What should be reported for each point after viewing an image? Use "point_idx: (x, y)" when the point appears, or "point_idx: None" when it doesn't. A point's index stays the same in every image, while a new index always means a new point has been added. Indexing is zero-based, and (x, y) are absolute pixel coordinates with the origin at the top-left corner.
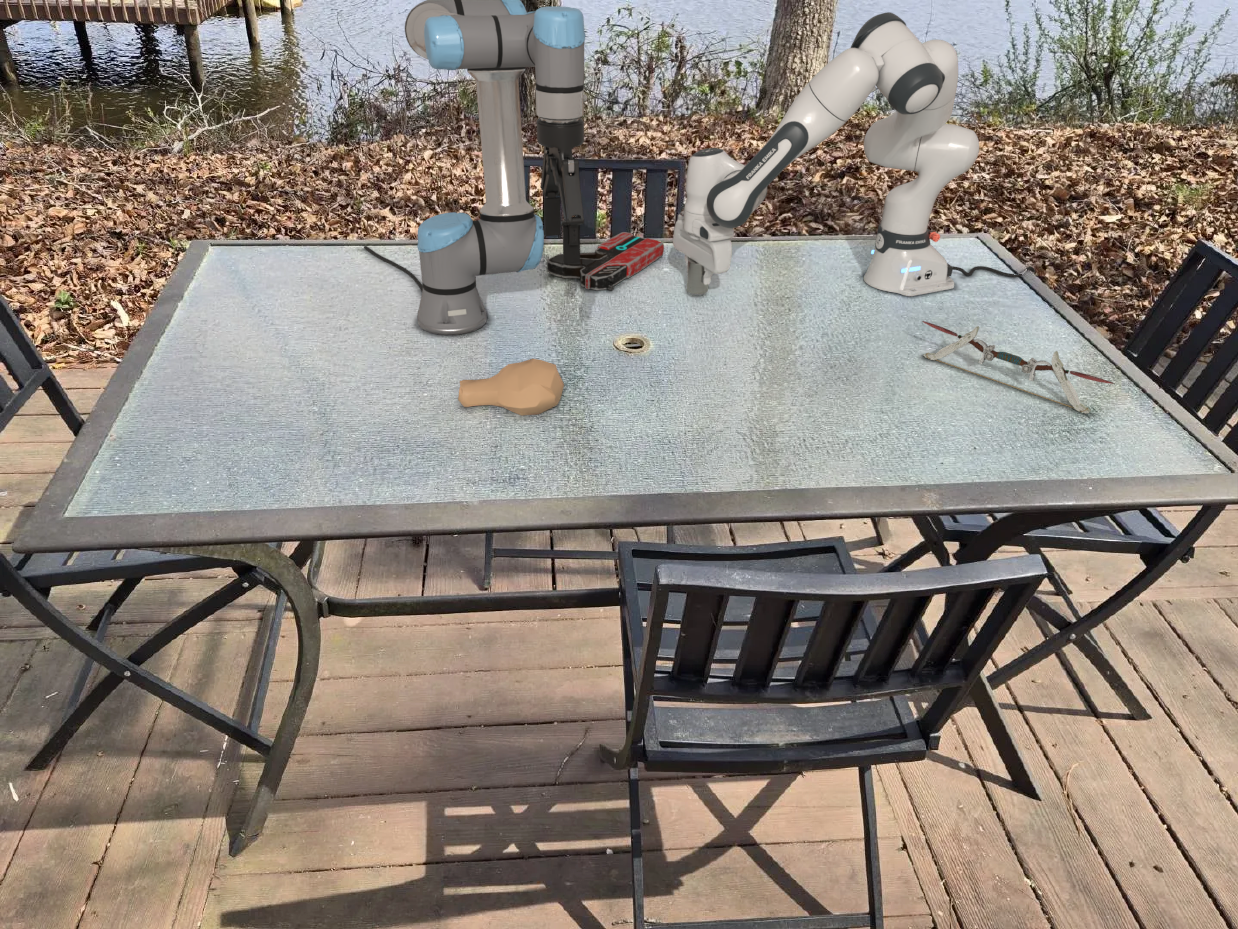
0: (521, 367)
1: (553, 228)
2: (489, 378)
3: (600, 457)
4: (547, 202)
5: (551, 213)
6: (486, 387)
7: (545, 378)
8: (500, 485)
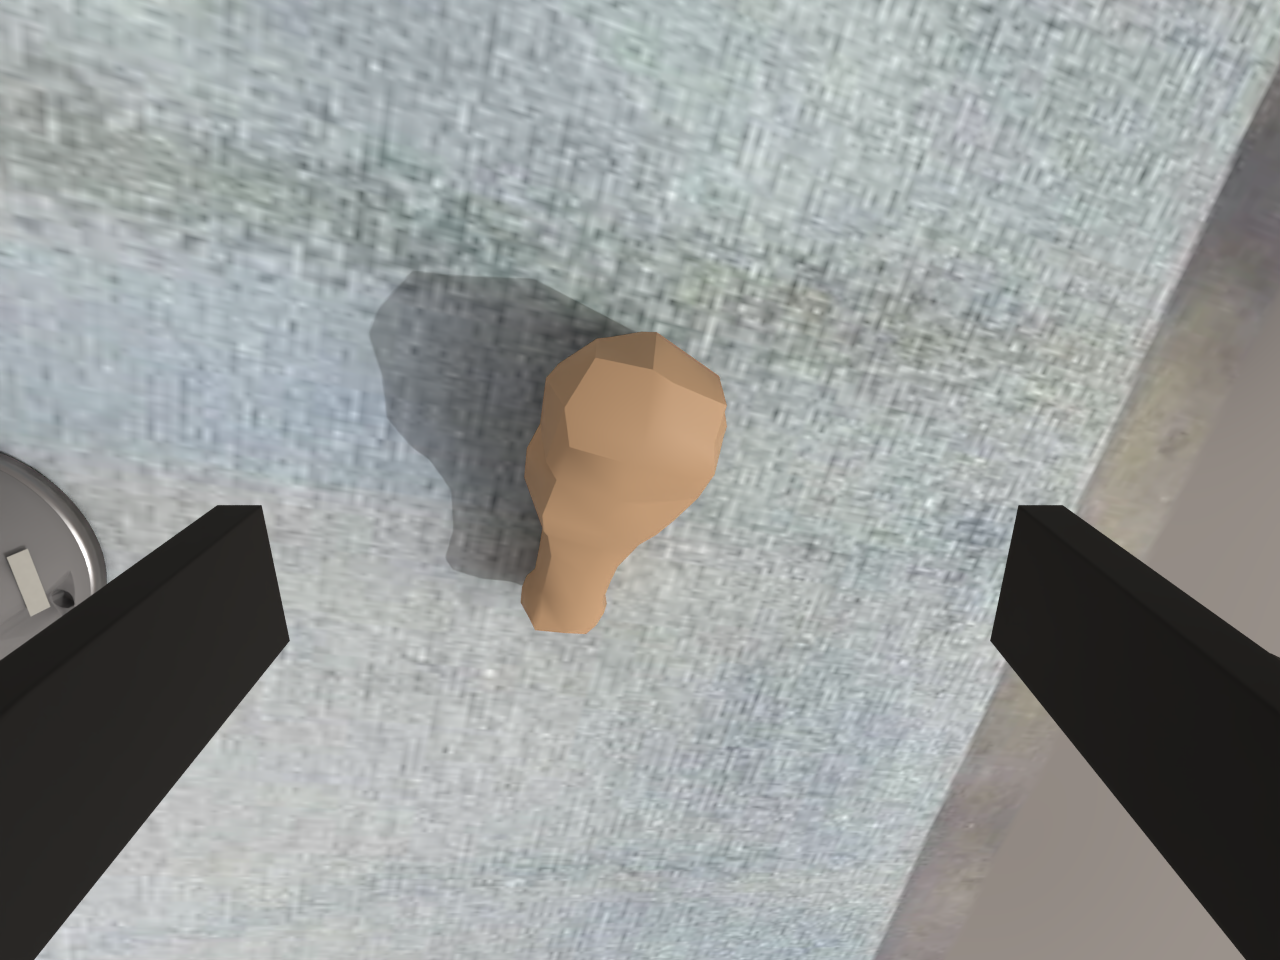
0: (615, 492)
1: (240, 612)
2: (557, 557)
3: (975, 283)
4: (22, 932)
5: (129, 745)
6: (602, 570)
7: (694, 420)
8: (988, 567)
